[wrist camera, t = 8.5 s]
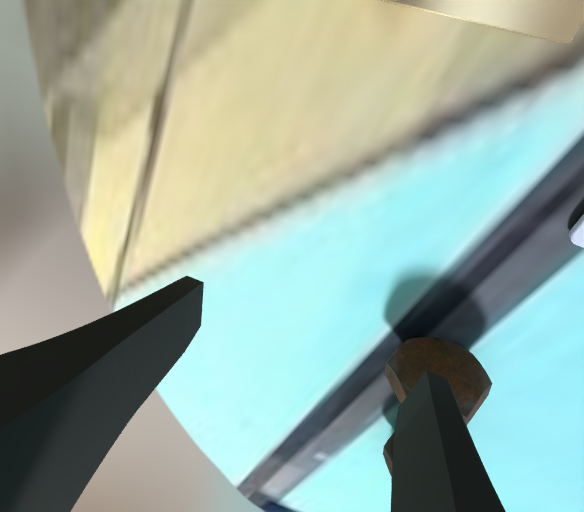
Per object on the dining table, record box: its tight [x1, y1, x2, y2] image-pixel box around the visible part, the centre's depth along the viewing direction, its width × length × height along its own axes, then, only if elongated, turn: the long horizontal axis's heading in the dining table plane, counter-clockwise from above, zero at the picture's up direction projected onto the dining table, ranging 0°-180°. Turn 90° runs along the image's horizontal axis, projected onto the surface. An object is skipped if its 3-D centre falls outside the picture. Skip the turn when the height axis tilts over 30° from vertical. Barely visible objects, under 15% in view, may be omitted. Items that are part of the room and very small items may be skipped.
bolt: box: [383, 337, 492, 477], centre depth 24 cm, size 6×5×15 cm
